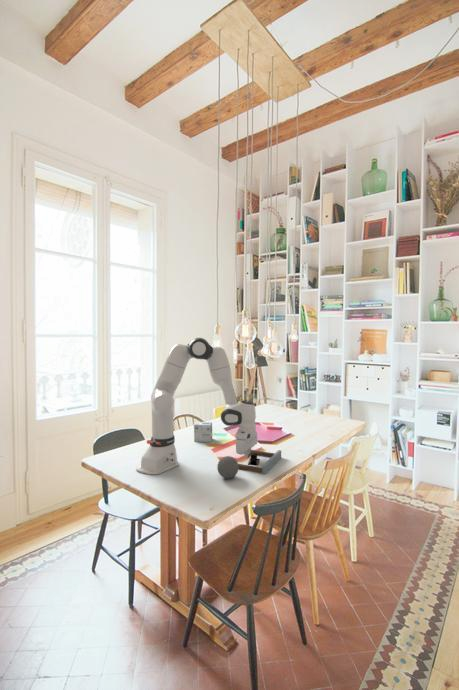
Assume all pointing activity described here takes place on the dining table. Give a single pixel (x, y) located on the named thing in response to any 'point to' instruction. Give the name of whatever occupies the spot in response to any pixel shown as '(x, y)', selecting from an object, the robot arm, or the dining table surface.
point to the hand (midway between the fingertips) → (247, 457)
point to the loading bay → (265, 467)
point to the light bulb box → (203, 432)
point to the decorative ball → (227, 467)
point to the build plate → (254, 459)
